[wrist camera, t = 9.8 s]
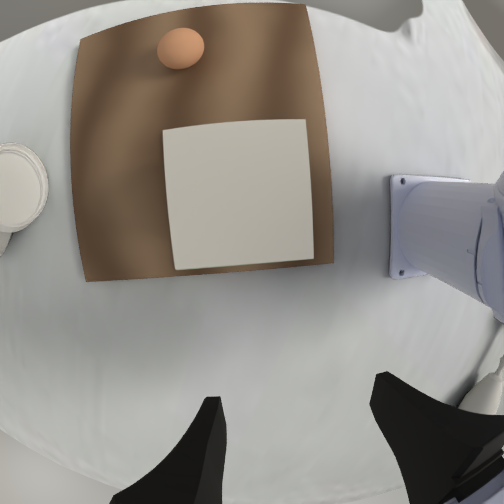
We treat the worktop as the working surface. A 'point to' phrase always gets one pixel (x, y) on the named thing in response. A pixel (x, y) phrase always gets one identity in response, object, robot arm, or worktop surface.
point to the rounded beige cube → (239, 192)
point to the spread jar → (20, 190)
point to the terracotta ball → (180, 48)
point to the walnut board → (184, 125)
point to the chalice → (485, 393)
